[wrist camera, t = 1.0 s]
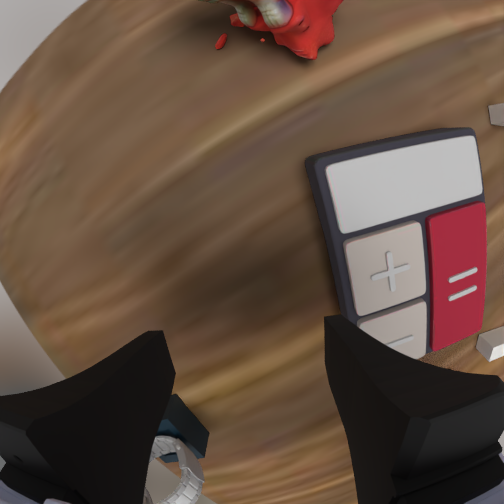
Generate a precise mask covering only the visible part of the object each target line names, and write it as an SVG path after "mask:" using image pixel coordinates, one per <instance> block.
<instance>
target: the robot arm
mask: <svg viewBox="0 0 504 504" xmlns="http://www.w3.org/2000/svg"><path fill="white" fill-rule="evenodd" d="M324 330H325V366H326V371H327V376H328V380H329V385H330V388H331V391H332V394H333V396H334V399H335V402H336V405H337V408H338V411H339V414H340V417H341V420H342V422H343V425H344V428H345V432H346V435H347V439H348V444H349V449H350V454H351V459H352V465H353V471H354V477H355V483H356V490H357V498H358V504H504V456H503V454H502V453H501V452H502V447H501V445H500V443H499V442H498V439H499V438H500V436H501V434H502V432H503V431H504V382H503V381H502V380H501V379H500V378H499V377H498V376H497V375H484V374H472V373H465V372H459V371H454V370H449V369H445V368H441V367H437V366H434V365H431V364H428V363H425V362H422V361H419V360H416V359H414V358H411V357H409V356H407V355H405V354H402V353H400V352H398V351H396V350H394V349H392V348H390V347H389V346H387V345H385V344H383V343H382V342H380V341H378V340H377V339H375V338H373V337H372V336H370V335H369V334H367V333H366V332H364V331H363V330H362V329H360V328H359V327H357V326H356V325H355V324H353V323H352V322H351V321H349V320H348V319H346V318H345V317H344V316H342V315H334V316H326V317H324ZM175 374H176V373H175V369H174V366H173V363H172V360H171V357H170V353H169V350H168V347H167V343H166V340H165V336H164V333H163V330H161V331H147V332H145V333H143V334H142V335H140V336H138V337H137V338H135V339H134V340H132V341H131V342H129V343H128V344H126V345H125V346H123V347H122V348H120V349H119V350H117V351H116V352H114V353H113V354H111V355H110V356H108V357H107V358H105V359H103V360H102V361H100V362H98V363H97V364H95V365H93V366H92V367H90V368H88V369H86V370H84V371H83V372H81V373H78V374H76V375H74V376H72V377H70V378H68V379H65V380H63V381H60V382H57V383H55V384H52V385H50V386H47V387H43V388H40V389H36V390H33V391H28V392H24V393H19V394H13V395H5V396H0V456H1V457H2V458H3V459H4V460H5V462H6V464H5V465H4V467H3V468H2V470H1V472H0V504H143V499H144V490H145V483H146V476H147V470H148V465H149V460H150V456H151V451H152V447H153V443H154V440H155V437H156V434H157V431H158V429H159V426H160V423H161V421H162V418H163V415H164V413H165V410H166V407H167V405H168V402H169V399H170V396H171V393H172V389H173V384H174V379H175Z"/></svg>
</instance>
